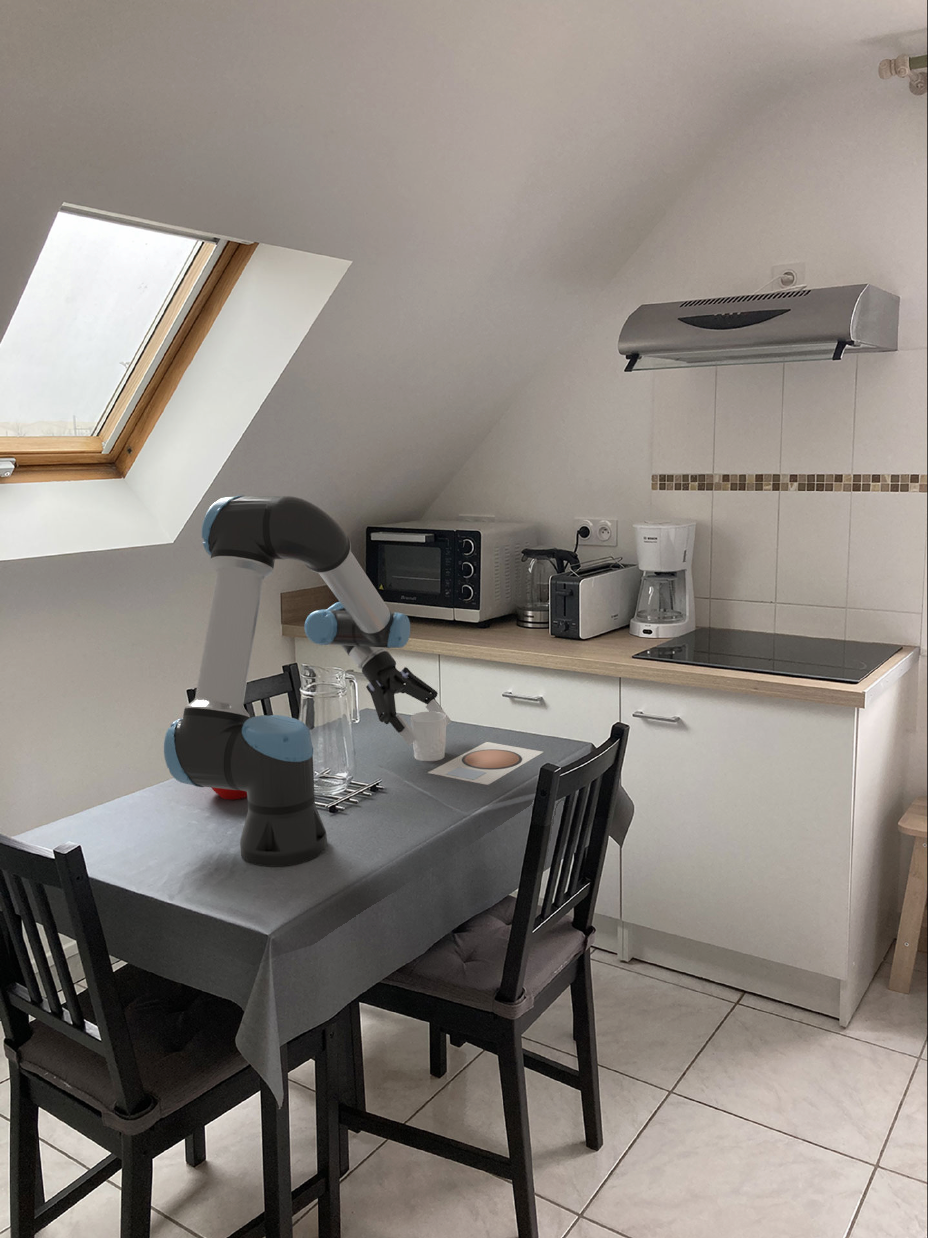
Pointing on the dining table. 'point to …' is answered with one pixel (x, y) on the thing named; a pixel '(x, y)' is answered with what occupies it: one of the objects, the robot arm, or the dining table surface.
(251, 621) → the robot arm
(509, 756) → the circle mark
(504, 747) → the white flat rectangular sheet
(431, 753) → the white cup
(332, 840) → the dining table surface
